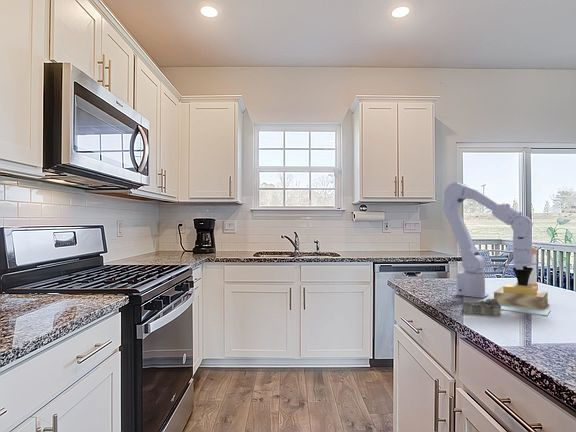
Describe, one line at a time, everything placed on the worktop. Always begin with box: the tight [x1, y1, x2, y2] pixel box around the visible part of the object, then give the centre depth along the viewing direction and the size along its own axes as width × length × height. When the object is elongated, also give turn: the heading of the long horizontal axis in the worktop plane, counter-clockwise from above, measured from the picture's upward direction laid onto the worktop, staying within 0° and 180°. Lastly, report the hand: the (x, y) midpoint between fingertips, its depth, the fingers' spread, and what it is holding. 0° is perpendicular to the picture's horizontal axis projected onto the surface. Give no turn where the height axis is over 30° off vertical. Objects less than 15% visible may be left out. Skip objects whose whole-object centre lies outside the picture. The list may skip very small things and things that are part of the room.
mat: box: [499, 304, 551, 317], centre depth 119 cm, size 18×8×1 cm, turn 49°
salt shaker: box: [515, 246, 539, 291], centre depth 149 cm, size 7×7×19 cm
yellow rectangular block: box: [502, 283, 537, 295], centre depth 127 cm, size 9×6×2 cm, turn 49°
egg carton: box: [461, 298, 502, 316], centre depth 117 cm, size 11×8×4 cm
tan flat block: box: [493, 286, 549, 309], centre depth 127 cm, size 14×12×4 cm
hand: (523, 288), depth 131 cm, fingers closed
